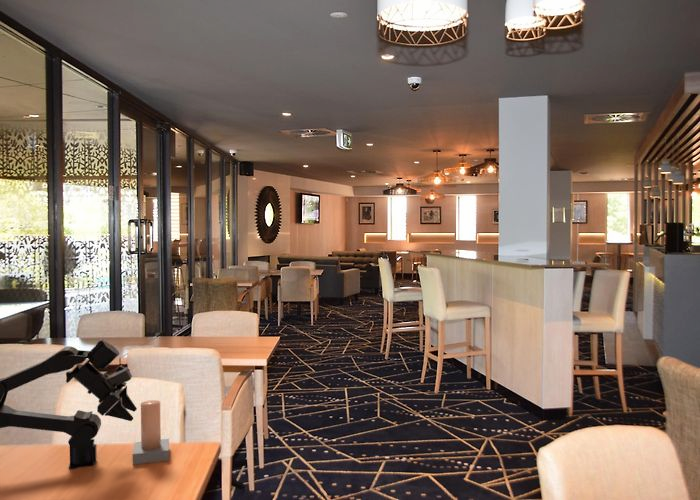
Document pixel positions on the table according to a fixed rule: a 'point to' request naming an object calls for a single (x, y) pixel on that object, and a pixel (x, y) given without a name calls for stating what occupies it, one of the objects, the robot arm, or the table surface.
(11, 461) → the table surface
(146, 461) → the charcoal plinth
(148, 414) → the terracotta column
